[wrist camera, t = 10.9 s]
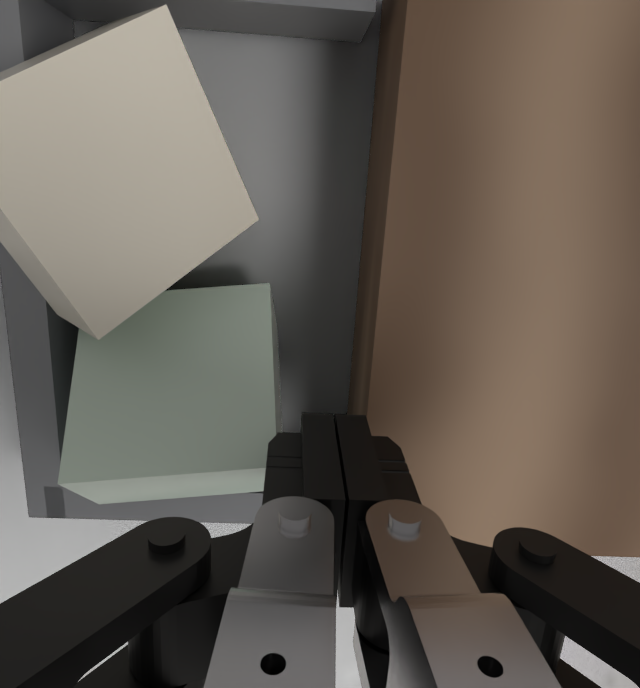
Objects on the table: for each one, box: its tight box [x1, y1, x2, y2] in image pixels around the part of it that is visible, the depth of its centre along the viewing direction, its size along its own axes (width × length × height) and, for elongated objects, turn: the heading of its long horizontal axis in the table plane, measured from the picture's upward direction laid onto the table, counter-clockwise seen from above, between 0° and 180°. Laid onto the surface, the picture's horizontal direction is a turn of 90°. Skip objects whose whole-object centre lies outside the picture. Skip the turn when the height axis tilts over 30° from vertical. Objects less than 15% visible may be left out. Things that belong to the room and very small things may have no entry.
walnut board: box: [347, 0, 640, 557], centre depth 15 cm, size 14×14×4 cm
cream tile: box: [0, 5, 259, 340], centre depth 12 cm, size 5×5×2 cm
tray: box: [0, 0, 377, 524], centre depth 15 cm, size 8×14×3 cm, turn 176°
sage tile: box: [58, 283, 283, 504], centre depth 15 cm, size 5×5×2 cm
